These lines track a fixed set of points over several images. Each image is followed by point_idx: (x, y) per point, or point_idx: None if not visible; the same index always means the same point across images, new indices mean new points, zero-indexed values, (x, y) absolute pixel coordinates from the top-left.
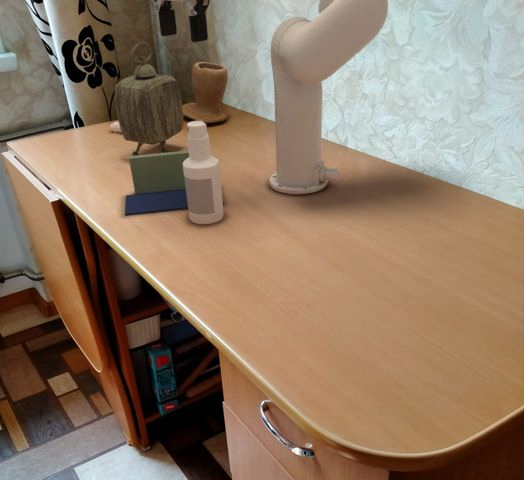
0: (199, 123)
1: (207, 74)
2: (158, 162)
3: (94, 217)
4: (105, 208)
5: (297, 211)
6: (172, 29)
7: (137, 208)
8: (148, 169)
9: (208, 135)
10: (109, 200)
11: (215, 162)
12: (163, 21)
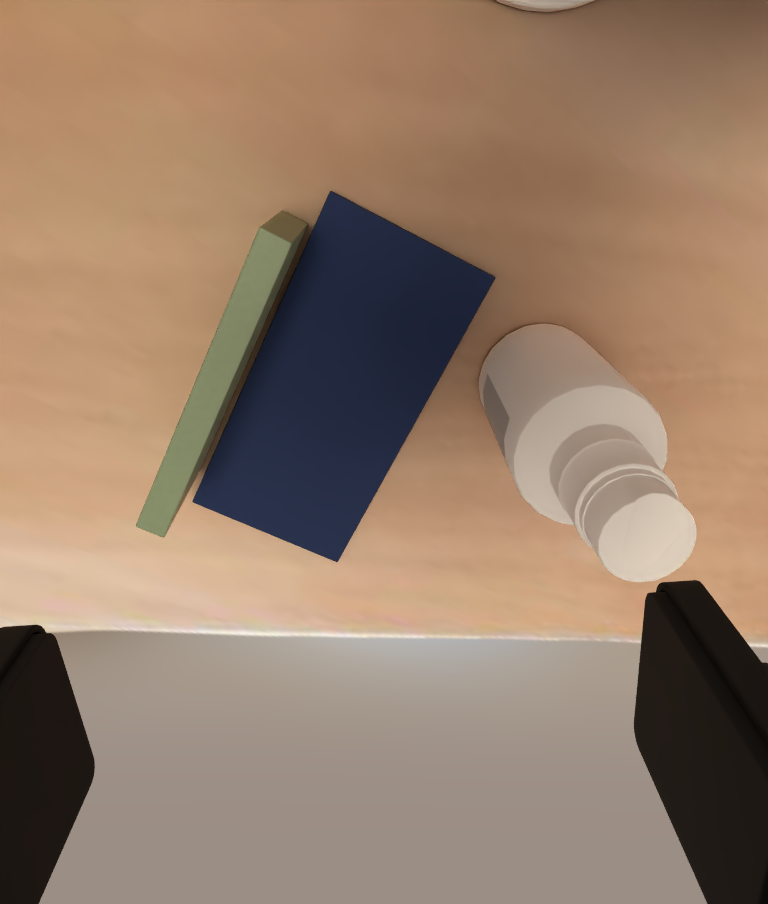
0: (642, 520)
1: None
2: (212, 429)
3: (286, 624)
4: (242, 579)
5: (757, 81)
6: (48, 710)
7: (324, 519)
8: (201, 457)
9: (661, 471)
10: (187, 548)
11: (658, 425)
12: (29, 887)
